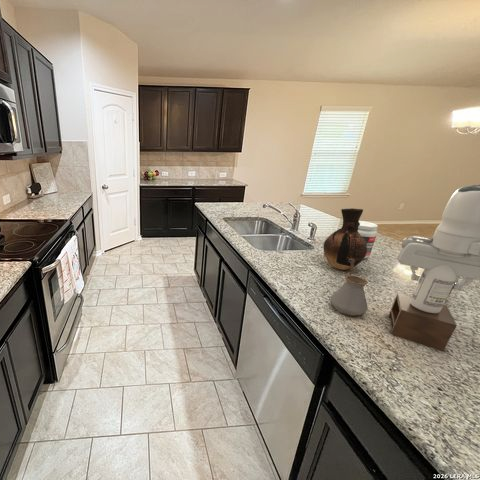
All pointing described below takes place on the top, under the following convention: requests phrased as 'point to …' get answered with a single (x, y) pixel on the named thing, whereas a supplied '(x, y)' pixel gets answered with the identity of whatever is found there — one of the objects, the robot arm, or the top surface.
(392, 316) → the shelf
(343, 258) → the ceramic vessel
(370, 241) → the supplement tub
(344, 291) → the coffee pot
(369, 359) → the top surface
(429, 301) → the bath foam
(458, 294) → the top surface
